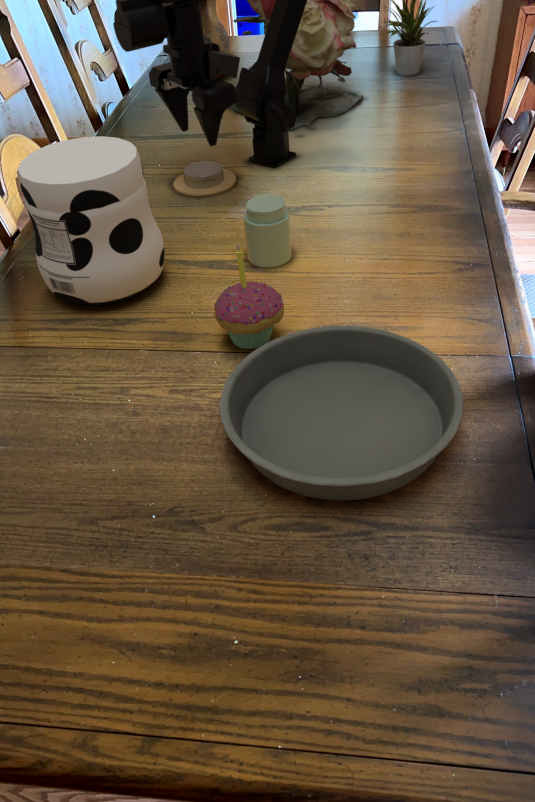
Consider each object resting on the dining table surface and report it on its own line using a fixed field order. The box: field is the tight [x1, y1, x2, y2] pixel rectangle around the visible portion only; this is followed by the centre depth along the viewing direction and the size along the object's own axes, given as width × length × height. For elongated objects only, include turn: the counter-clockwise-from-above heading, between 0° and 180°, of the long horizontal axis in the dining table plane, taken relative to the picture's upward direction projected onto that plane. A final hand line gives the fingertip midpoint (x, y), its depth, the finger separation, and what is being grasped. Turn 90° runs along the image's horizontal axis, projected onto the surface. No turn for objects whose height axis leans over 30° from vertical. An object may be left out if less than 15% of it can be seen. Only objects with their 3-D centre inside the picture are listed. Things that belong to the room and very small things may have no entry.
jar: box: [243, 194, 293, 268], centre depth 101 cm, size 6×6×8 cm
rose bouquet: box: [206, 0, 364, 130], centre depth 142 cm, size 26×29×30 cm
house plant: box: [377, 0, 439, 76], centre depth 159 cm, size 14×14×16 cm
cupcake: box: [213, 244, 285, 350], centre depth 85 cm, size 9×8×12 cm
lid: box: [183, 160, 224, 189], centre depth 124 cm, size 7×7×2 cm
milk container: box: [17, 135, 166, 306], centre depth 96 cm, size 17×17×18 cm
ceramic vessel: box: [200, 0, 231, 81], centre depth 162 cm, size 16×9×25 cm, turn 174°
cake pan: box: [219, 325, 464, 501], centre depth 74 cm, size 25×25×4 cm
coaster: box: [172, 168, 237, 197], centre depth 125 cm, size 11×11×1 cm
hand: (198, 138), depth 120 cm, fingers open, 9 cm apart
